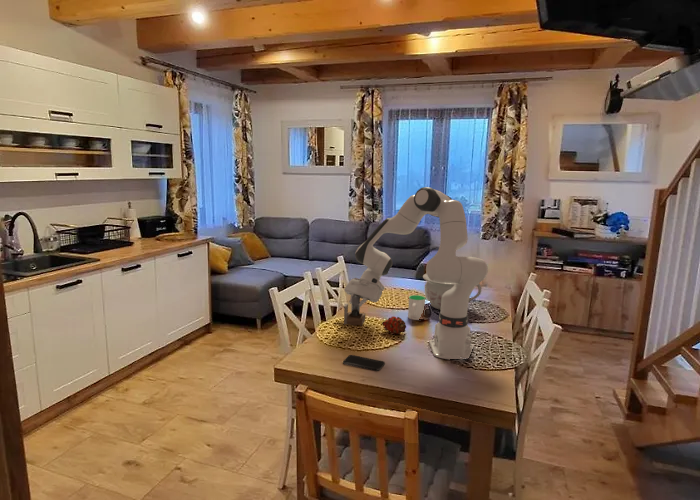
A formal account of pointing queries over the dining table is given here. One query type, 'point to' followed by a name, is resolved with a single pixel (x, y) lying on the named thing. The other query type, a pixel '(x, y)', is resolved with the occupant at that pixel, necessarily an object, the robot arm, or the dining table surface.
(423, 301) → the mug
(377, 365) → the phone
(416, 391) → the dining table surface
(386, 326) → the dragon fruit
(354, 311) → the steel toggle
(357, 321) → the keeper
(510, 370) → the dining table surface
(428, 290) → the chamber pot
